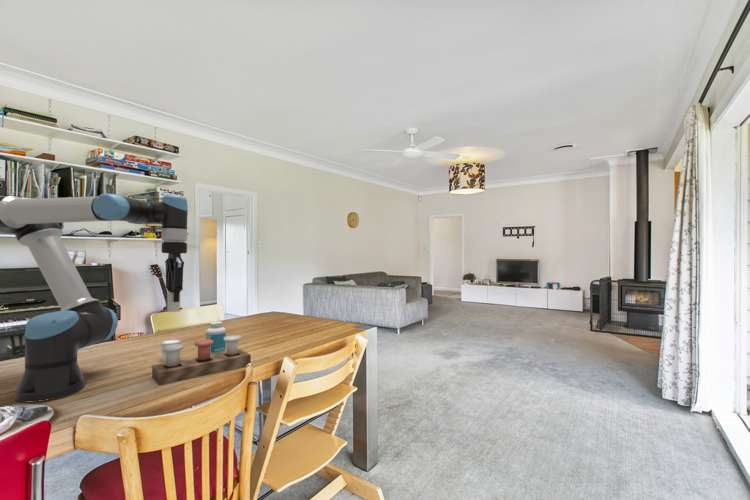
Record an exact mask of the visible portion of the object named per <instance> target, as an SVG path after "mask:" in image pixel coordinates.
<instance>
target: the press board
mask: <svg viewBox="0 0 750 500" xmlns="http://www.w3.org/2000/svg"><path fill="white" fill-rule="evenodd" d="M251 357H252V355H251V354H250V353H248V352H246V351H244V350H242V349H239V348H238V353H237V354H233V355H228V354H226V352H222V353H217V354H211V355H210V359H207V360H198V356H196V357H190V358H185V359H180V362H179V364H178V365H175V366H166V362H163V363H157V364H156V363H155V364H152V365H151V378H152V379H153V380H154V381H155V382H156V384H157V385H158V386H163V385H167V384H172V383H176V382H182V381H185V380H190V379H195V378H199V377H203V376H208V375H212V374H218V373H222V372H227V371H232V370H237V369H240V367H241V368H244V367H245V366H246V365H247V364H248V363H251V362H252V361H251ZM246 367H247V366H246Z"/></svg>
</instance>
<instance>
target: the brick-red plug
mask: <svg viewBox="0 0 750 500" xmlns="http://www.w3.org/2000/svg"><path fill="white" fill-rule="evenodd" d="M210 345H213V340H206V339H199V340H196V341H195V342H194V347H197V357H198V360H207V359H210Z"/></svg>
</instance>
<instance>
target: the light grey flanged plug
mask: <svg viewBox="0 0 750 500" xmlns="http://www.w3.org/2000/svg"><path fill="white" fill-rule="evenodd" d="M172 344H182V340H180V339H168V340H164V341H162V342H161V343H160V345H161V357H162V361H163V362H166V352H164V351H163V347H164V346H167V345H172Z"/></svg>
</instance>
